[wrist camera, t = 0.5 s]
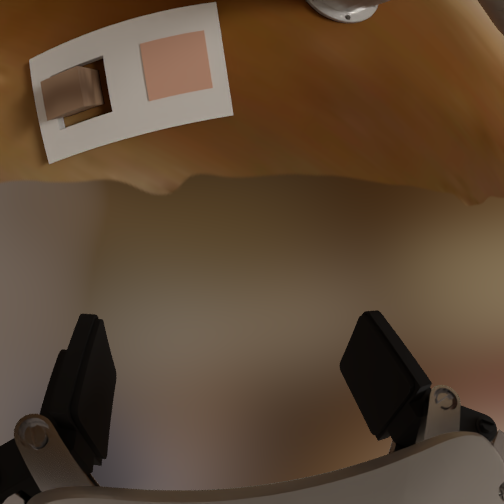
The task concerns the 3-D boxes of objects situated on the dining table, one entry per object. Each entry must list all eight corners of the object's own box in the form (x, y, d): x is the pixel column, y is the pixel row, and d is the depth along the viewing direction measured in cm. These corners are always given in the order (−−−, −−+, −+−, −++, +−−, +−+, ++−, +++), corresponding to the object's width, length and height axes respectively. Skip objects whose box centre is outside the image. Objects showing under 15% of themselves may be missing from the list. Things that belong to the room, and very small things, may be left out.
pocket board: (35, 60, 27) (28, 59, 25) (215, 6, 29) (216, 1, 27) (54, 160, 35) (48, 164, 33) (231, 114, 37) (233, 115, 35)
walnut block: (66, 82, 30) (40, 81, 23) (98, 70, 31) (77, 65, 24) (72, 115, 33) (47, 120, 26) (104, 103, 33) (84, 106, 26)
